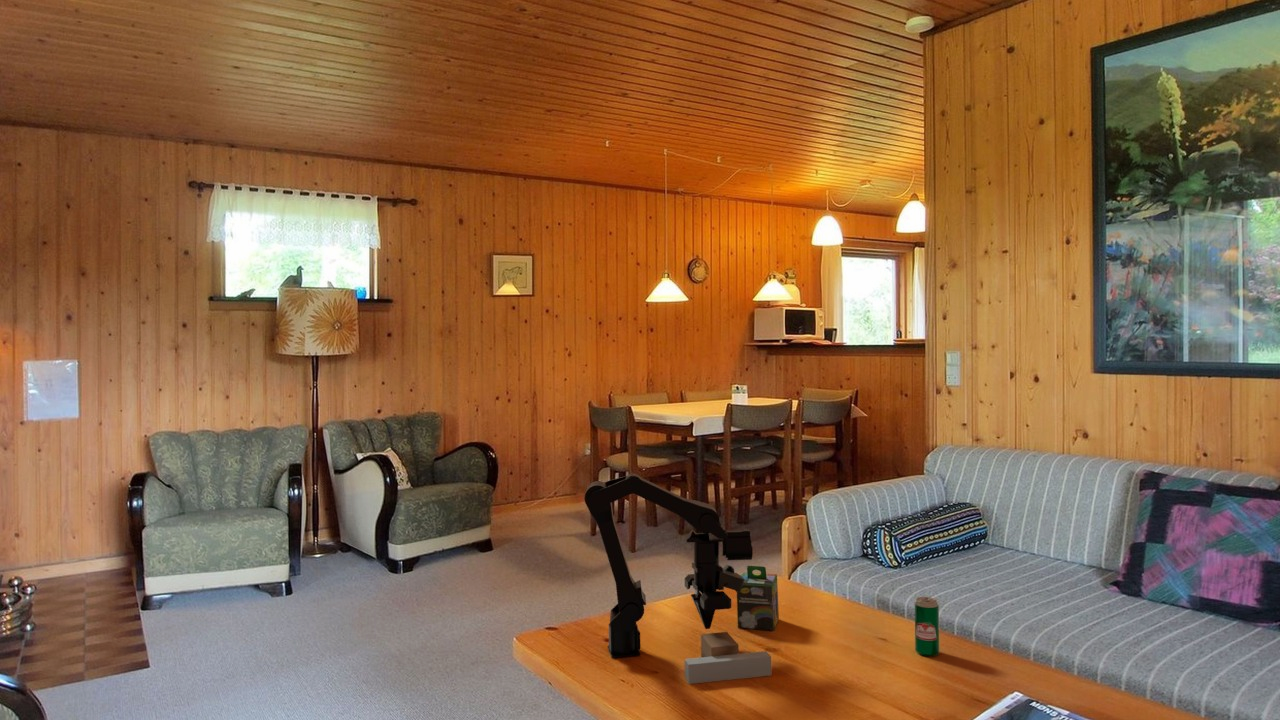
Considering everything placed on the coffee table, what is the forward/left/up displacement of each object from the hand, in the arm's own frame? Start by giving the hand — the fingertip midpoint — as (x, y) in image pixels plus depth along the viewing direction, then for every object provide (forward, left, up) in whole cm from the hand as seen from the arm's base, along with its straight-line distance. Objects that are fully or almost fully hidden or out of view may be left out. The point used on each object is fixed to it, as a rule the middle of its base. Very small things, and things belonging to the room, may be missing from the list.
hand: (707, 628), depth 178 cm
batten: (0, -15, -5) cm, 16 cm away
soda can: (+47, -14, -5) cm, 49 cm away
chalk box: (+17, +13, -5) cm, 22 cm away
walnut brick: (0, -9, -5) cm, 11 cm away
